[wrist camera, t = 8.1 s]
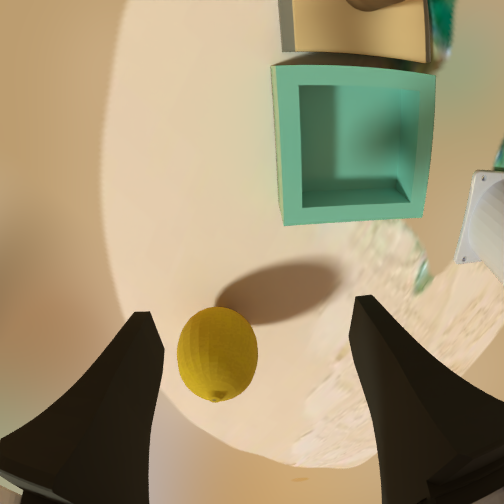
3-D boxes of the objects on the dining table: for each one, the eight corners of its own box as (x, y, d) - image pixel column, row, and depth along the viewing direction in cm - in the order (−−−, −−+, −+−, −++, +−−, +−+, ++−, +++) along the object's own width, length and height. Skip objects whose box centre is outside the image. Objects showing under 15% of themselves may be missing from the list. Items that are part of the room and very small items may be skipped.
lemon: (229, 273, 23) (225, 364, 16) (268, 320, 25) (276, 407, 19) (170, 303, 24) (150, 390, 18) (212, 344, 27) (206, 426, 20)
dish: (409, 71, 15) (435, 75, 13) (402, 196, 20) (422, 217, 17) (270, 66, 15) (275, 65, 13) (278, 203, 20) (283, 226, 17)
